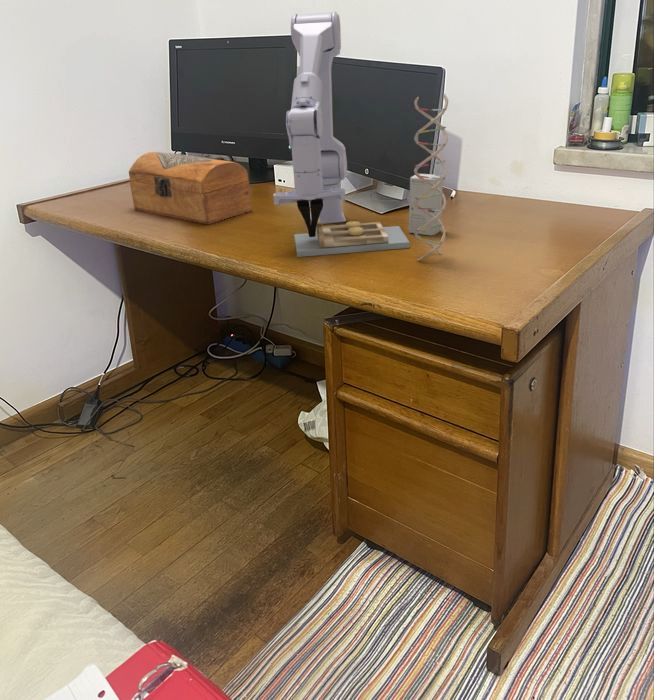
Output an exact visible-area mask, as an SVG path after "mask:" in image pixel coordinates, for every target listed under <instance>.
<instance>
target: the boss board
mask: <svg viewBox="0 0 654 700" xmlns="http://www.w3.org/2000/svg"><path fill="white" fill-rule="evenodd" d="M360 223H361V222H360V221H357V220H356V221H353V220H352V221H346V222H345V225H346V228H348V232H349V234H350V235H352V236H360V234H363V228H360ZM382 227H383V228H384V230H385V232H386V233H387V235H388V242H384V243H372V244H360V245H348V246H336V247H324V248H321V247H320V244H319V240H318V236H317V232H316V237H309V233H308V232H307V233H306V232H305V233H297V234H293V235H294V236H293V237H294V243H295V250H296V256H297V258H303V257H312V256H313V257H314V256H326V255H329V256H330V255H341V254H350V253H364V252H373V251H387V250H401V249H410V244H411V243H410V241H409V239H408V238H407V236H406V235H405V233H404V232H403V230H402V229H401V227H400V225H394V226H393V225H392V226H382Z"/></svg>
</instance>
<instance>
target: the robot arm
mask: <svg viewBox="0 0 654 700" xmlns="http://www.w3.org/2000/svg"><path fill="white" fill-rule="evenodd" d="M341 30H342V29H341V20H340V15H339V13H338V12H337V11H332V12H319V13H315V12H314V13H304V14H303V13H302V14H301V13H300V14H297V13H294V14H293V15H292V17H291V18H290V35H291V41H292V44H293V45H294V47H295V50H296V52H297V53H298V56H299V57H300V58H299V59H300V60H299V65H300V66H299V75H297V76H296V77H295V78H294V80H293V86H292V87H293V88H292V95H291V96H292V97H291V107H290V110H287V111H286V117H285V125H286V132H287V137H288V143H289V148H291V157H292V169H293V182H294V183H293V184H294V190H290V191H284V192H283V191H282V192H276V193H275V192H274V193H273V203H274V204H273V205H274V206H278V205H281V204H293V203H294V204H295V203H296V205H297V209H298V211H299V213H300V215H301V216H302V218H303V221H304V223H305V226H306V228H307V233H309V237H316V233H317V232H316V227H317V222H318V219H319V218H320V222H321V225H324V224H336V223H337V224H338V223H347V219H346V216H345V214H344V212H343V200H344V201H345V200H346V190H345V188H344V187H342V181H344V180H345V179H346V178H347V175H348V159H347V158H348V157H347V153H346V147H345V145H344V144H343V142H341V141H340V140H338V138H336V137H335V136H334V124H333V119H334V118H333V88H332V86H333V85H332V82H333V81H332V67H333V59H334V58H335V57H337V56H339V55H341V48H342V46H341V44H342V43H341V41H342V39H341V37H342V36H341V35H342V34H341ZM322 151H328V152H322ZM329 151H332V152H329Z"/></svg>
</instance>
